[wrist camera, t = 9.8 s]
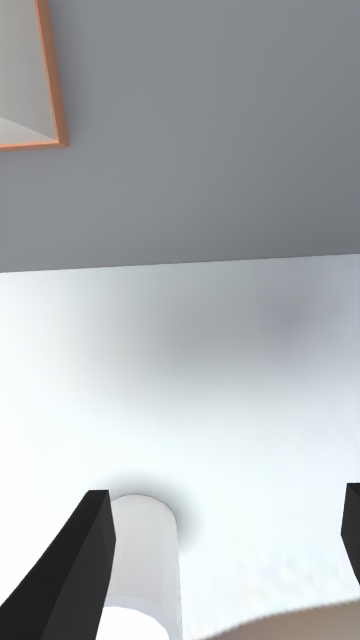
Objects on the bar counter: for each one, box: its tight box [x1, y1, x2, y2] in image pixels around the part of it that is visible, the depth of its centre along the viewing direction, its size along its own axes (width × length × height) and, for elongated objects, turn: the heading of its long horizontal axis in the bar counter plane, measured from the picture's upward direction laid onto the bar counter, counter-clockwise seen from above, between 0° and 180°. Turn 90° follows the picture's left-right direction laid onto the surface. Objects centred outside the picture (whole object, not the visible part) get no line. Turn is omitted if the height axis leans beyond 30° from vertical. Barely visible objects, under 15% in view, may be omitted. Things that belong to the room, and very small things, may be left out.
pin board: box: [0, 0, 360, 273], centre depth 15 cm, size 22×16×2 cm
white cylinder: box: [96, 494, 183, 640], centre depth 22 cm, size 7×7×7 cm
